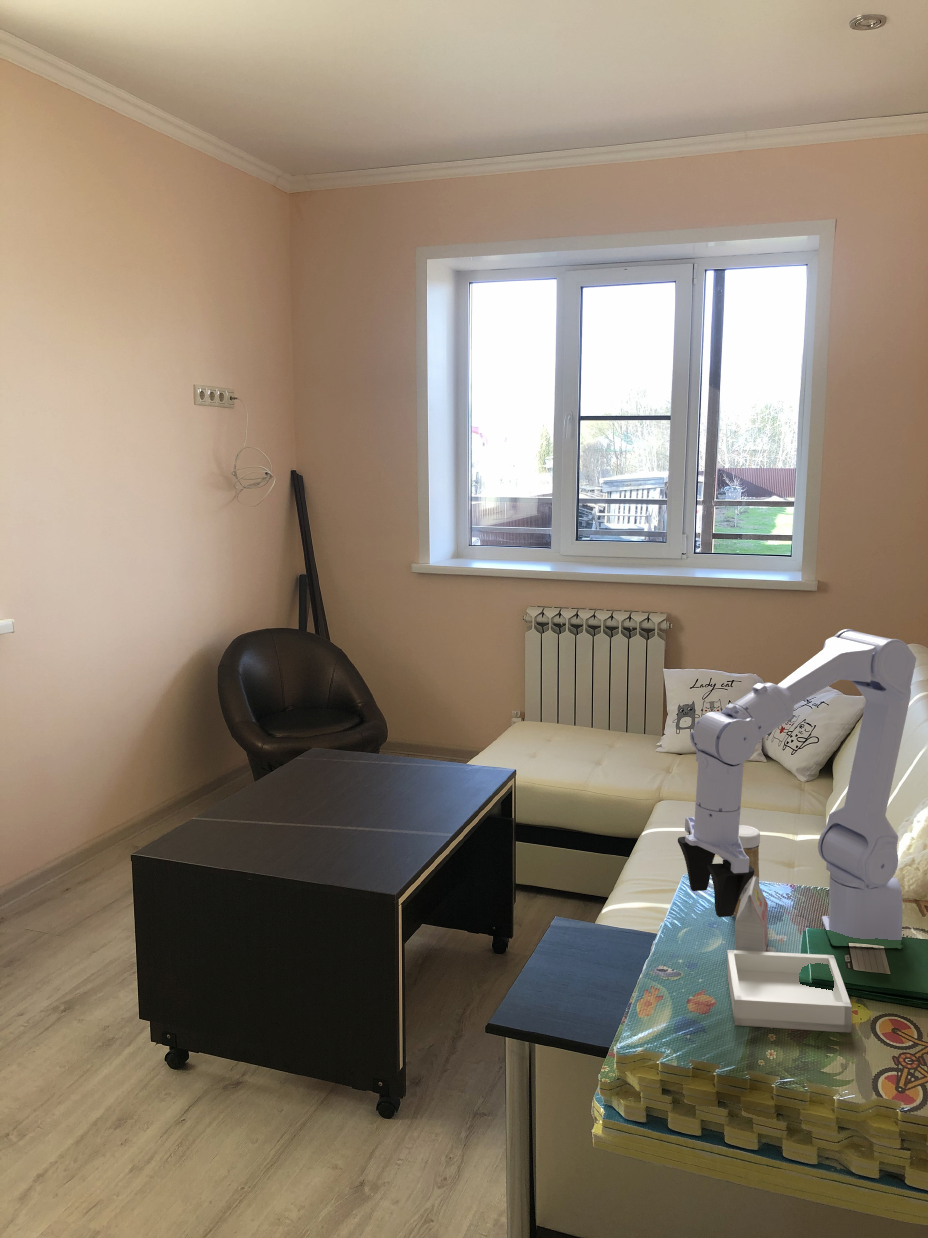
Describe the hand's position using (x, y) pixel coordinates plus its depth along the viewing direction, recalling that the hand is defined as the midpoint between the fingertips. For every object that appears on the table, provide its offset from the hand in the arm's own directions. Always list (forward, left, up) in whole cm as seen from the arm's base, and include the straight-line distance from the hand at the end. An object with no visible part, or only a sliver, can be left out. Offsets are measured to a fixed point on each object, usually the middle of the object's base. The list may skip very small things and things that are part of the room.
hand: (711, 902), depth 125 cm
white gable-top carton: (-6, -7, -11) cm, 14 cm away
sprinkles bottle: (-6, -18, -11) cm, 22 cm away
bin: (-9, +5, -11) cm, 15 cm away
